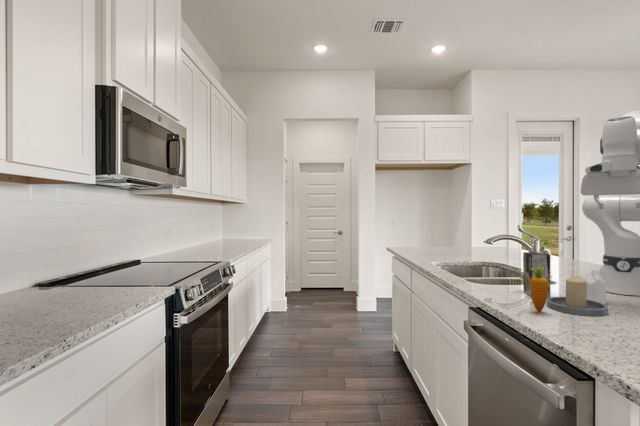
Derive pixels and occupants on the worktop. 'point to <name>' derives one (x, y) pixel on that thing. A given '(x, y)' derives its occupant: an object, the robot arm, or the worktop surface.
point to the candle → (576, 292)
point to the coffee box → (532, 262)
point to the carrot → (539, 289)
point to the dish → (590, 310)
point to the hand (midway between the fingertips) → (619, 208)
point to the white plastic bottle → (596, 287)
